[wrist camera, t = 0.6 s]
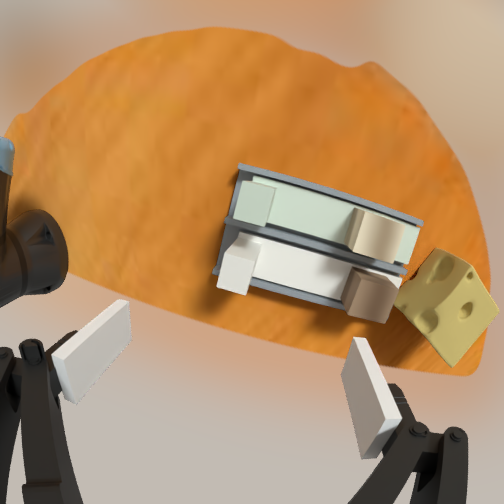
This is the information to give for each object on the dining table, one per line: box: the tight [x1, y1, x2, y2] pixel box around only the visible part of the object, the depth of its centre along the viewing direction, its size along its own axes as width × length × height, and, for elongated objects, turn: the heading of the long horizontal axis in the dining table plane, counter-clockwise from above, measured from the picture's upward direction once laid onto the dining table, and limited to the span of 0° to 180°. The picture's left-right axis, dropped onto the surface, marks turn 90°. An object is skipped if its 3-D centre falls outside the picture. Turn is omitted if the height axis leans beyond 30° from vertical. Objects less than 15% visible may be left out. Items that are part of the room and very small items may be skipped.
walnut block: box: [340, 266, 399, 324], centre depth 33 cm, size 5×4×5 cm
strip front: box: [233, 176, 420, 264], centre depth 30 cm, size 22×5×9 cm, turn 76°
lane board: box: [212, 163, 424, 321], centre depth 35 cm, size 24×14×3 cm, turn 76°
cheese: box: [394, 248, 499, 367], centre depth 31 cm, size 10×11×10 cm
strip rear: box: [217, 231, 402, 300], centre depth 32 cm, size 22×5×9 cm, turn 76°
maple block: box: [344, 207, 406, 264], centre depth 31 cm, size 5×4×5 cm
